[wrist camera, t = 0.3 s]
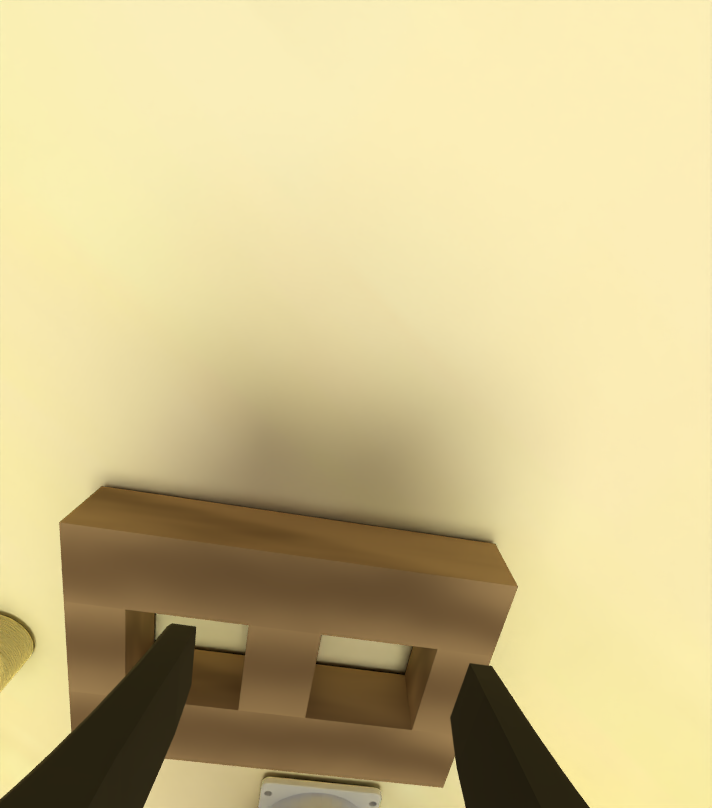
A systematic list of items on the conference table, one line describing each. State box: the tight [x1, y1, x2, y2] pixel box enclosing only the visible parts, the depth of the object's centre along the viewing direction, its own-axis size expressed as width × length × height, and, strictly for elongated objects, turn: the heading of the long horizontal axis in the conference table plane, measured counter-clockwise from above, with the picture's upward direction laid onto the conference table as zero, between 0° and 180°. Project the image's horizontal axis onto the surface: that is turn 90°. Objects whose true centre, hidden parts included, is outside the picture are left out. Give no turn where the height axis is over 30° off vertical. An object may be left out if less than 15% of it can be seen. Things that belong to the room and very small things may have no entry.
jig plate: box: [59, 486, 518, 788], centre depth 21 cm, size 14×20×3 cm
